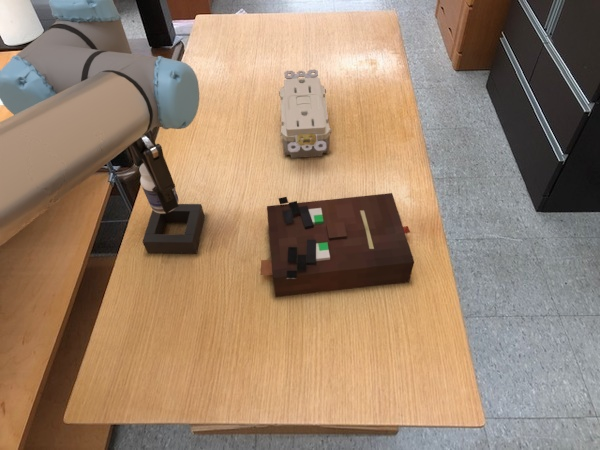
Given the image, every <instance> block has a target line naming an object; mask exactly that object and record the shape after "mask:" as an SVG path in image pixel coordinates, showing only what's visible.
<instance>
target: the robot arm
mask: <svg viewBox="0 0 600 450" xmlns="http://www.w3.org/2000/svg"><path fill="white" fill-rule="evenodd" d="M48 5H49V8H50V11H51V16H52V18H54V20H55V22H54V23H52V24H51V26H49V28H48V29H47V30H46V31H44V32H42V34H41V35H39V36H38V37H37V38H35V39H34V40H33V41H32V42H30V43H29V44H28V45H27V46H25V47H24V48H23V49H22V50H20V51H19V52H18V53H16V55H13V56H11V57H10V60H9V61H8V62H7V63H6V64H5V65H4V66H3V67H2V68H1V69H0V101H1V102H2V105H3V106H4V107H5V108H6V109H7V110H8V111H9V112H10V113H11V114H12V115H11V116H9V117H6V118H5V119H3V120H1V121H0V247H1V246H2V245H4V244H5V243H7V242H8V241H9V240H10V239H11V238H13V237H14V236H15V235H17V234H19V232H20V231H22V230H23V229H24V228H26V227H27V226H28V225H30V224H31V223H32V222H33V221H35V220H36V219H37V218H39V217H40V216H41V215H43V214H44V213H45V212H46V211H48V210H49V209H50V208H51V207H52V206H55V204H57V203H58V202H59V201H61V200H62V199H63V198H64V197H66V196H68V194H69V193H71V192H72V191H74V190H75V189H76V188H77V187H79V186H80V185H81V184H83V183H84V182H85V181H86V180H88V179H89V178H90V177H92V176H93V175H94V174H95V173H96V172H98V171H100V169H102V168H103V167H104V166H105V165H107V164H108V163H109V162H111V161H112V160H113V159H115V158H116V157H117V156H118V155H120V154H121V153H122V152H124V151H125V150H126V152H127V154H128V158H129V159H130V160H133V164H134V166H135V167H136V168H137V171H138V173H139V175H140V176H141V173H140V171H139V168H140V166H141V165H142V164H143V163H144V165H145V167H146V169H147V171H148V173H149V175H150V177H151V179H152V181H153V183H154V185H155V187H154V188H153V189H152V190H153V192H154V193H156V194H157V196H158V198H159V201H160V203H161V205H162V208H163V210H164V212H165V213H168V212H169V211H171V210H173V209H175V208H176V207H178V204H179V202H178V203H177V201H176V198H175V196H174V193H173V190H172V189H173V188H175V189H176V184H175V182H174V179H173V176H172V174H171V172H170V169H169V166H168V163H167V161H166V158H165V156H164V151H163V147H162V145H161V144H160V143H156V141H155V140H154V137H153V136H154V134H153V131H152V130H153V129H154V128H162V129H163V130H170V129H173V130H183V129H186V128H187V127H189V126H190V125H191V124H192V123H193V121H194V120H195V118H196V116H197V113H198V110H199V105H200V86H199V85H200V84H199V80H198V77H197V74H196V72H195V71H194V69H193V67H192V66H190V65H189V64H187V62H184V61H180V60H176V59H172V58H167V57H164V56H162V55H158V56H151V55H144V54H136V53H132V50H131V47H130V44H129V41H128V37H127V34H126V31H125V27H124V25H123V22H122V16H121V15H120V13H119V11H118V8H117V6H116V5H115V2H114V0H48Z"/></svg>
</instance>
